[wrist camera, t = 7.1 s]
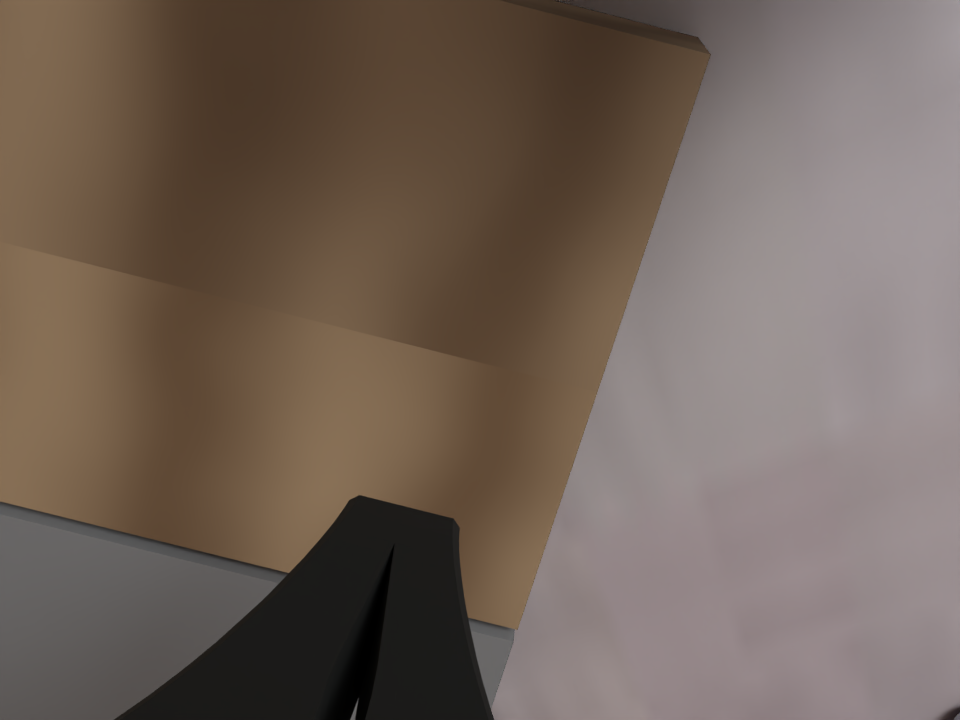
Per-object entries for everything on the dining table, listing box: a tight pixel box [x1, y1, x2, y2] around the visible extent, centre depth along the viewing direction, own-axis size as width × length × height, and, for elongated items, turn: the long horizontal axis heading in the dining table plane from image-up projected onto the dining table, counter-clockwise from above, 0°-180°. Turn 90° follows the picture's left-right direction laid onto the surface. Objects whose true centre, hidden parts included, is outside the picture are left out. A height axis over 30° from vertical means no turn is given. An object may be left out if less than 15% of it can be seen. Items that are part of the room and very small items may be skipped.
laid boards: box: [0, 0, 711, 630], centre depth 19 cm, size 16×14×2 cm
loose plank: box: [0, 501, 515, 720], centre depth 25 cm, size 16×12×2 cm
